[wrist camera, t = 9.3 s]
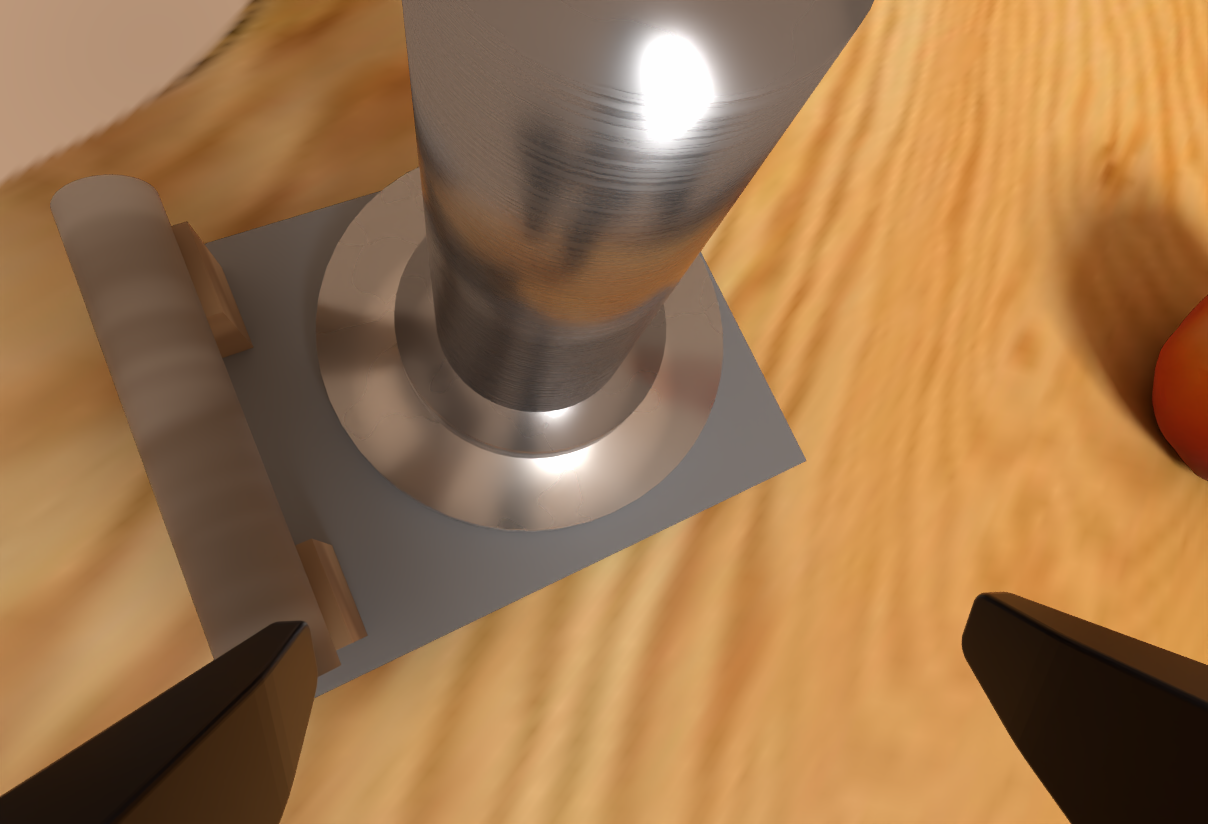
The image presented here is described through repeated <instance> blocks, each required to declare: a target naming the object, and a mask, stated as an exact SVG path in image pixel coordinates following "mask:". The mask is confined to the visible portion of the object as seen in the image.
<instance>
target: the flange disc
mask: <svg viewBox="0 0 1208 824" xmlns="http://www.w3.org/2000/svg"><path fill="white" fill-rule="evenodd" d="M426 236H427V235H426V225H425V216H424V206H423V197H422V187H421V177H420V168H419V167H418V168H416V169H414V170H412V171H410V172H408V173H406V174H404V175H403V176H401V177H400V178H399V179H397V180H396V181H394V182H393V183H391V184H390V185H388V186H387V187H385V188H384V189H383V190H382V191H381V192H380V193H379V194H378V195H376V196H375V197H374V198H373V199H372V200H371V201H370V202H369V203H368V204H366V206H365V207H364V208H363V209H362V210H361V211H360V213H359V214H358V215H357V216H356V217H355V219H354V220H353V221H352V222H351V223H350V225H349V226H348V228H347V229H346V231H345V233H344V234H343V236H342V237H341V239H340V241H339V242H338V244H337V246H336V248H335V250H334V252H333V254H332V257H331V259H330V261H329V263H328V266H327V268H326V271H325V274H324V278H323V282H322V285H321V289H320V293H319V298H318V306H317V314H316V348H317V354H318V359H319V365H320V371H321V375H322V378H323V382H324V385H325V388H326V391H327V394H328V397H329V400H330V402H331V404H332V406H333V408H334V410H335V412H336V414H337V416H338V418H339V420H340V422H341V424H342V426H343V427H344V429H345V430H346V432H347V433H348V435H349V436H350V438H351V439H352V441H353V442H354V443H355V445H356V446H357V448H358V449H359V451H360V452H361V453H362V454H363V456H364V457H365V458H366V459H367V460H368V461H369V462H370V463H371V464H372V465H373V467H374V468H375V469H376V470H377V471H378V472H379V473H380V474H381V475H382V476H383V477H384V478H386V479H387V480H388V481H389V482H390V483H392V484H393V485H394V486H395V487H396V488H398V489H399V490H400V491H401V492H402V493H404V494H406V495H407V496H409V497H410V498H412V499H414V500H415V501H417V502H418V503H420V504H421V505H423V506H425V507H426V508H429V509H431V510H433V511H435V512H437V513H440V514H442V515H444V516H446V517H448V518H451V519H454V520H457V521H460V522H463V523H467V524H470V525H473V526H477V527H482V528H488V529H494V530H500V531H509V532H540V531H550V530H560V529H564V528H568V527H572V526H576V525H581V524H585V523H588V522H590V521H593V520H595V519H598V518H601V517H603V516H606V515H608V514H611V513H613V512H615V511H617V510H618V509H620V508H622V507H624V506H626V505H627V504H629V503H631V502H633V501H635V500H637V499H638V498H640V497H641V496H643V495H644V494H645V493H647V492H648V491H649V490H651V489H652V488H653V487H655V486H656V485H657V484H659V483H660V482H661V481H662V480H663V479H664V478H665V477H666V476H667V475H668V474H669V473H670V472H671V471H672V470H673V469H674V468H675V467H676V466H677V465H678V464H679V463H680V462H681V460H682V459H683V458H684V457H685V455H686V454H687V453H688V451H689V450H690V449H691V447H692V446H693V445H694V443H695V441H696V440H697V438H698V436H699V434H700V433H701V431H702V429H703V427H704V426H705V424H706V422H707V419H708V417H709V414H710V412H711V409H712V407H713V404H714V401H715V398H716V394H717V390H718V386H719V382H720V378H721V370H722V360H723V328H722V322H721V315H720V309H719V304H718V301H717V297H716V294H715V290H714V287H713V283H712V281H711V279H710V276H709V274H708V272H707V269H706V267H705V265H704V262H703V260H702V259H701V257H700V255H699V254H698V256H697V257H696V259H695V260H694V261H693V263H692V264H691V266H690V267H689V269H688V270H687V271H686V273H685V274H684V276H683V277H682V278H681V280H680V281H679V283H678V284H677V286H676V287H675V288H674V290H673V291H672V293H671V294H670V296H669V297H668V298H667V300H666V301H665V303H664V308H665V317H666V343H665V350H664V356H663V359H662V363H661V366H660V369H659V372H658V375H657V377H656V379H655V381H654V383H653V385H652V387H651V389H650V390H649V392H648V394H647V395H646V397H645V398H644V400H643V401H642V402H641V403H640V405H639V406H638V407H637V408H636V409H635V410H634V412H633V413H632V414H631V415H630V416H629V417H628V418H627V419H626V420H625V421H624V422H623V423H622V424H621V425H620V426H619V427H617V428H616V429H615V430H614V431H613V432H612V433H610V434H609V435H607V436H606V437H604V438H603V439H601V440H600V441H598V442H596V443H594V444H592V445H590V446H588V447H586V448H584V449H582V450H579V451H576V452H573V453H570V454H566V455H561V456H556V457H551V458H537V459H528V458H514V457H509V456H504V455H499V454H495V453H492V452H489V451H486V450H484V449H481V448H478V447H476V446H474V445H472V444H470V443H468V442H466V441H464V440H462V439H461V438H459V437H458V436H456V435H455V434H453V433H452V432H450V431H449V430H448V429H446V428H445V427H444V426H443V425H442V424H441V423H440V422H438V421H437V420H436V419H435V418H434V417H433V416H432V415H431V413H430V412H429V411H428V410H427V409H426V408H425V407H424V405H423V404H422V403H421V401H420V399H419V398H418V396H417V395H416V393H415V392H414V390H413V388H412V386H411V384H410V382H409V380H408V378H407V376H406V373H405V370H404V367H403V364H402V361H401V357H400V354H399V350H398V346H397V340H396V334H395V326H394V309H395V300H396V293H397V290H398V286H399V282H400V279H401V276H402V274H403V271H404V269H405V267H406V265H407V262H408V261H409V259H410V257H411V256H412V254H413V253H414V251H415V249H416V248H417V247H418V245H419V244H420V243H421V242H422V241H423V239H424V238H425V237H426Z"/></svg>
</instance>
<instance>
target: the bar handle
mask: <svg viewBox="0 0 1208 824" xmlns="http://www.w3.org/2000/svg"><path fill="white" fill-rule="evenodd" d="M50 208H51V211H52V214H53V217H54V219H55V222H56V225H57V228H58V230H59V233H60V236H61V239H62V241H63V244H64V247H65V250H66V252H67V255H68V258H69V261H70V263H71V266H72V269H73V272H74V274H75V277H76V280H77V283H78V285H79V288H80V291H81V294H82V296H83V299H84V302H85V305H86V308H87V310H88V313H89V316H90V319H91V321H92V324H93V327H94V330H95V332H96V335H97V338H98V341H99V343H100V346H101V349H102V352H103V354H104V357H105V360H106V363H107V365H108V368H109V371H110V374H111V376H112V379H113V382H114V385H115V387H116V390H117V393H118V396H119V399H120V401H121V404H122V407H123V410H124V412H125V415H126V418H127V421H128V423H129V426H130V429H131V432H132V434H133V437H134V440H135V443H136V445H137V448H138V451H139V454H140V456H141V459H142V462H143V465H144V467H145V470H146V473H147V476H148V478H149V481H150V484H151V487H152V490H153V492H154V495H155V498H156V501H157V503H158V506H159V509H160V512H161V514H162V517H163V520H164V523H165V525H166V528H167V531H168V534H169V536H170V539H171V542H172V545H173V547H174V550H175V553H176V556H177V558H178V561H179V564H180V567H181V569H182V572H183V575H184V578H185V581H186V583H187V586H188V589H189V592H190V594H191V597H192V600H193V603H194V605H195V608H196V611H197V614H198V616H199V619H200V622H201V625H202V627H203V630H204V633H205V636H206V638H207V641H208V644H209V647H210V649H211V652H212V655H213V658H214V660H215V659H217V658H218V657H220V656H221V655H223V654H224V653H226V652H228V651H229V650H231V649H232V648H234V647H235V646H237V645H238V644H240V643H242V642H243V641H245V640H246V639H248V638H249V637H251V636H253V635H254V634H256V633H257V632H259V631H260V630H262V629H264V628H265V627H267V626H268V625H270V624H272V623H274V622H278V621H305V622H306V623H307V624H308V625H309V627H310V631H311V636H312V642H313V647H314V653H315V658H316V664H317V672H318V677H319V676H321V675H323V674H325V673H327V672H329V671H331V670H333V669H335V668H337V667H339V666H341V662H340V660H339V657H338V655H337V652H336V650H338V649H340V648H343V647H345V646H347V645H349V644H351V643H353V642H355V641H357V640H359V639H362V638H364V637H366V636H368V635H367V632H366V630H365V627H364V625H363V622H362V620H361V617H360V615H359V612H358V610H357V607H356V604H355V602H354V599H353V597H352V594H351V592H350V589H349V587H348V584H347V582H346V579H345V577H344V574H343V572H342V569H341V567H340V564H339V562H338V559H337V557H336V554H335V552H334V549H333V546H332V545H330V544H327V543H324V542H321V541H318V540H315V539H309V540H307V541H305V542H302V543H300V544H297V545H295V544H294V541H293V539H292V536H291V534H290V531H289V529H288V526H287V523H286V521H285V518H284V516H283V513H282V511H281V508H280V505H279V503H278V500H277V498H276V495H275V493H274V490H273V487H272V485H271V482H270V480H269V477H268V475H267V472H266V469H265V467H264V464H263V462H262V459H261V457H260V454H259V451H258V449H257V446H256V444H255V441H254V439H253V436H252V433H251V431H250V428H249V426H248V423H247V420H246V418H245V415H244V413H243V410H242V408H241V405H240V402H239V400H238V397H237V395H236V392H235V390H234V387H233V384H232V382H231V379H230V377H229V374H228V372H227V369H226V366H225V364H224V361H223V359H222V358H224V357H227V356H230V355H233V354H236V353H239V352H242V351H245V350H247V349H250V348H253V345H252V342H251V340H250V337H249V335H248V332H247V330H246V327H245V325H244V322H243V320H242V317H241V314H240V312H239V309H238V307H237V304H236V302H235V299H234V297H233V294H232V292H231V289H230V287H229V284H228V282H227V279H226V277H225V274H224V272H223V269H222V267H221V266H220V264H219V263H218V262H217V260H216V259H215V258H214V256H213V255H212V254H211V252H210V251H209V250H208V248H207V247H206V246H205V244H204V243H203V242H202V240H201V239H200V238H199V237H198V235H197V234H196V233H195V231H194V230H193V229H192V227H191V226H190V225H189V223H188V222H184V223H180V224H177V225H173V226H171V225H170V222H169V220H168V217H167V215H166V212H165V210H164V207H163V204H162V202H161V199H160V197H159V194H158V192H157V191H156V189H155V188H154V187H153V186H151V185H150V184H148V183H147V182H145V181H143V180H140V179H137V178H134V177H129V176H123V175H97V176H91V177H86V178H82V179H79V180H76V181H74V182H71V183H69V184H67V185H65V186H64V187H62V188H61V189H59V190H58V191H57V192H56V193H55V194H54V196H53V197H52V199H51V203H50Z"/></svg>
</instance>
